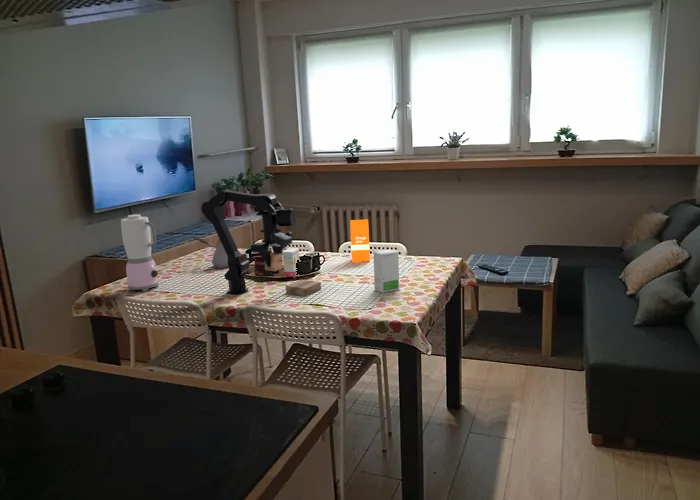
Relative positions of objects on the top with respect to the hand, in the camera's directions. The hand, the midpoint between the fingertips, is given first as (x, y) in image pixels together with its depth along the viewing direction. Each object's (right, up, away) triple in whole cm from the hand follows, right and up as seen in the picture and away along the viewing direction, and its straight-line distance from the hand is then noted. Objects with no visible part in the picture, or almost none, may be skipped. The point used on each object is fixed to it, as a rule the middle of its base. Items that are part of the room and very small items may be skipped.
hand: (273, 265), depth 221 cm
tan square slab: (+12, -11, +4) cm, 16 cm away
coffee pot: (-37, -2, +55) cm, 66 cm away
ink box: (+4, -6, +30) cm, 31 cm away
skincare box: (+45, -10, +1) cm, 46 cm away
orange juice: (+36, +1, +52) cm, 63 cm away
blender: (-58, -11, +21) cm, 62 cm away
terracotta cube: (0, -2, 0) cm, 2 cm away
